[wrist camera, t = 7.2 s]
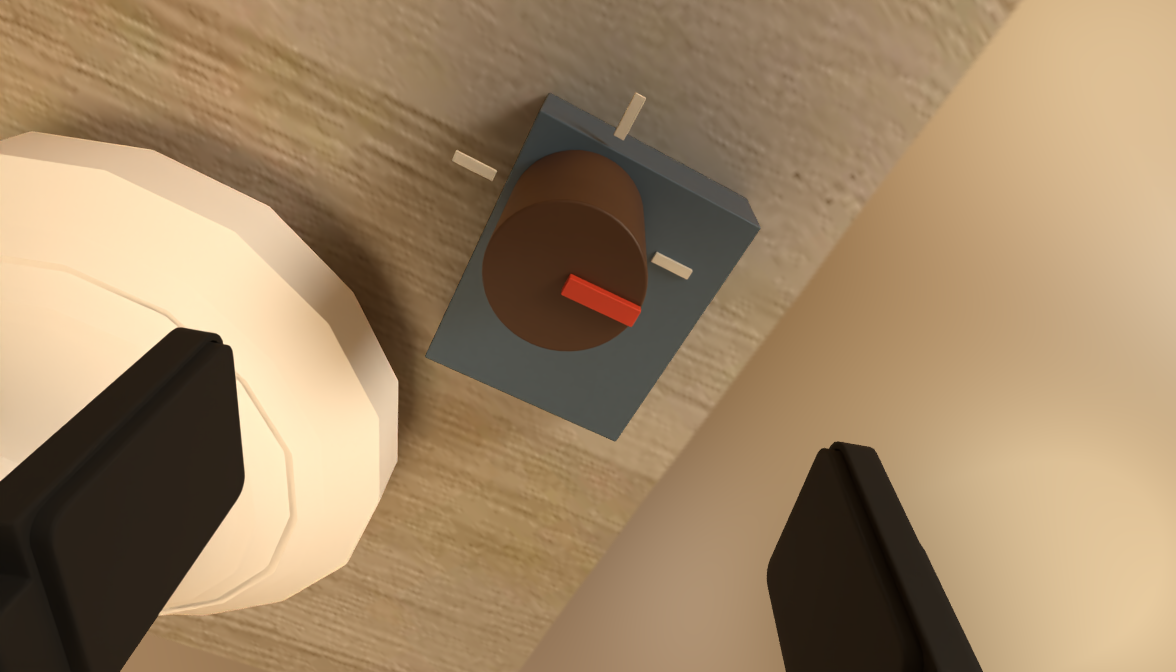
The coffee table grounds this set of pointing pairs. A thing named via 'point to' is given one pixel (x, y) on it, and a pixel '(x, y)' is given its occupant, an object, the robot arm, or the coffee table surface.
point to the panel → (674, 292)
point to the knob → (568, 253)
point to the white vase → (207, 303)
